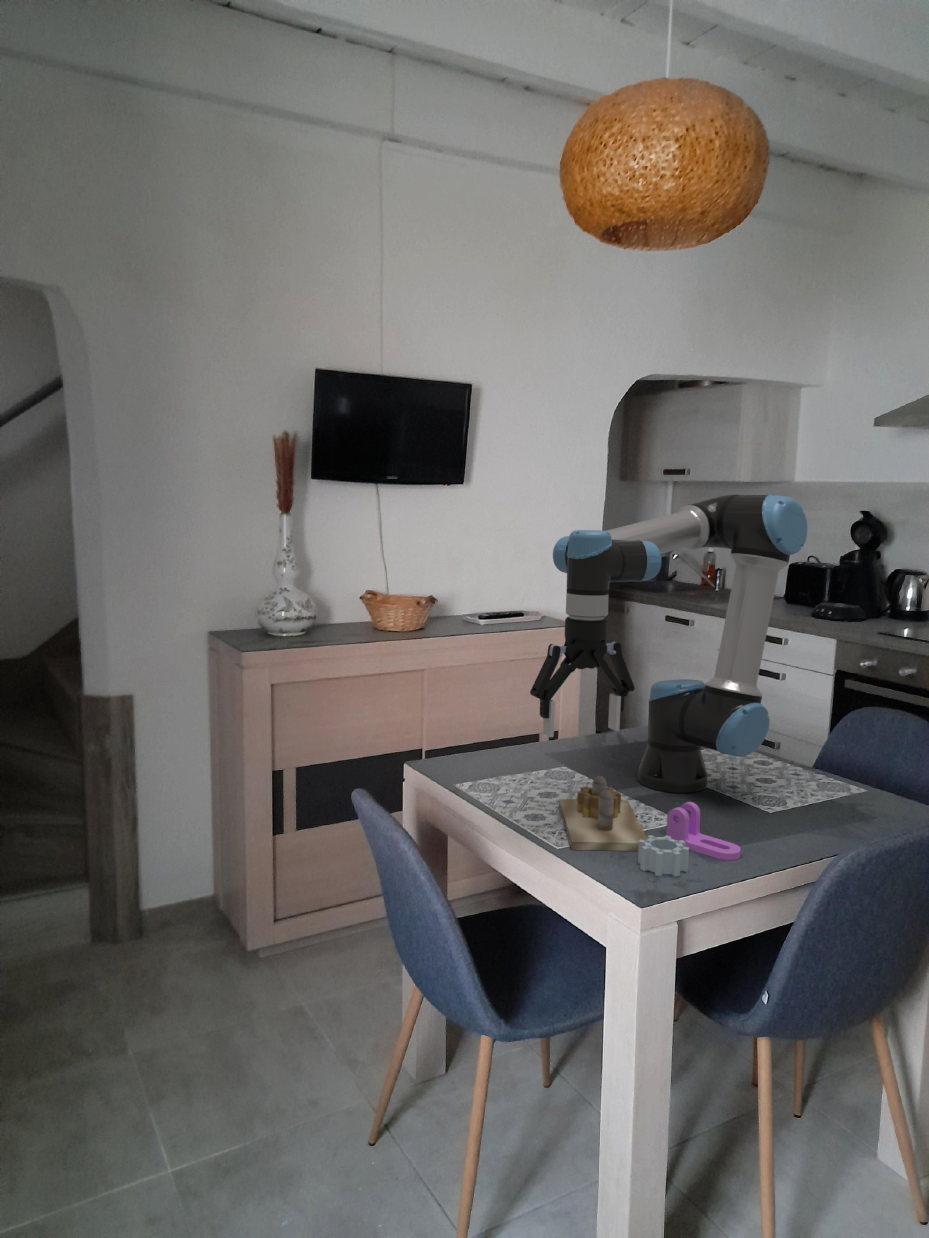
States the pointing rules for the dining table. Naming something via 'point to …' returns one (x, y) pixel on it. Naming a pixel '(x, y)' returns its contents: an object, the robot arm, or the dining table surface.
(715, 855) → the bracket
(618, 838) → the gear board
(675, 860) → the gear
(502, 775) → the dining table surface
